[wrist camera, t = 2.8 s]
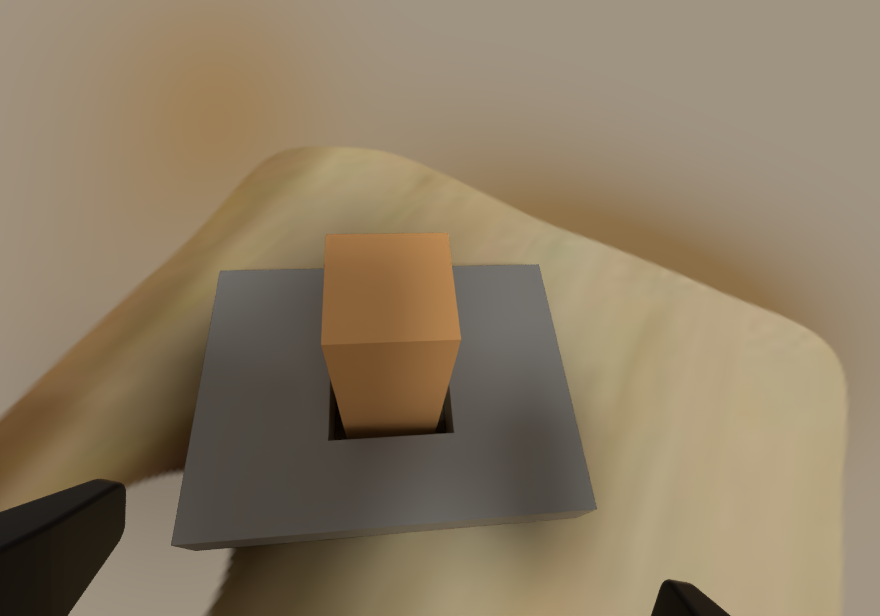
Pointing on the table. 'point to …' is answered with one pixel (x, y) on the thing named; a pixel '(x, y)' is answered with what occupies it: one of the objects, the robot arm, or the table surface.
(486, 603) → the table surface
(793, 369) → the table surface
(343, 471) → the jig plate
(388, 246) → the orange bar
